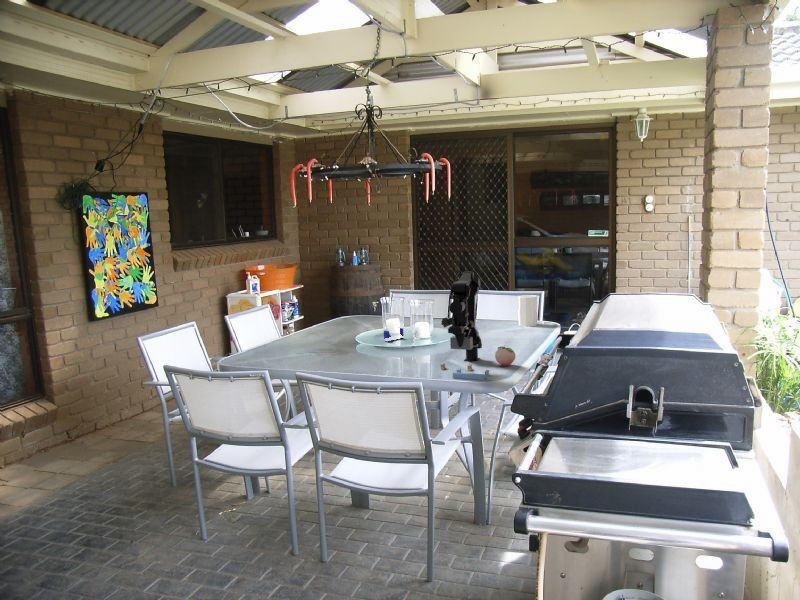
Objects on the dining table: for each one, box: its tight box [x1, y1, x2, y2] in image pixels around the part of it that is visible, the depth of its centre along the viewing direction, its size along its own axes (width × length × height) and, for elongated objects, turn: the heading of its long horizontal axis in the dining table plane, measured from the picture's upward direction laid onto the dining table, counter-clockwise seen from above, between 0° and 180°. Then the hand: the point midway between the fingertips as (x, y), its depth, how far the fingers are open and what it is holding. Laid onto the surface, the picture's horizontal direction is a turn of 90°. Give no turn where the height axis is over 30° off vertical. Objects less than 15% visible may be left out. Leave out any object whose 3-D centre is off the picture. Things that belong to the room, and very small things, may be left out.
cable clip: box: [383, 327, 404, 340], centre depth 356 cm, size 12×4×6 cm, turn 130°
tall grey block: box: [449, 335, 473, 351], centre depth 275 cm, size 4×9×5 cm, turn 66°
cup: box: [517, 294, 538, 328], centre depth 378 cm, size 11×11×18 cm
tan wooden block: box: [440, 362, 473, 372], centre depth 281 cm, size 3×14×2 cm, turn 68°
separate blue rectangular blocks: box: [452, 367, 490, 381], centre depth 267 cm, size 8×14×2 cm, turn 68°
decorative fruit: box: [494, 346, 516, 367], centre depth 282 cm, size 9×8×10 cm
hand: (461, 346), depth 275 cm, fingers closed on tall grey block, 4 cm apart
